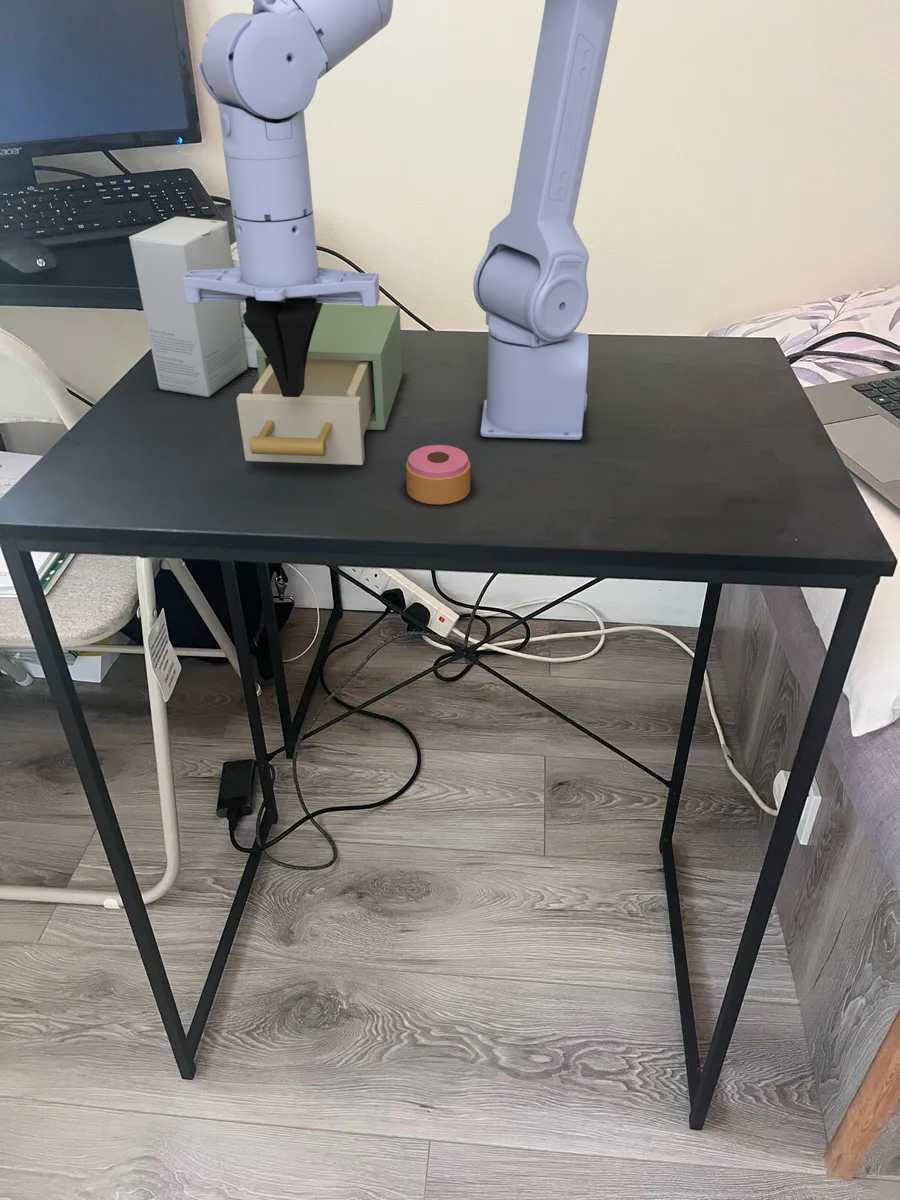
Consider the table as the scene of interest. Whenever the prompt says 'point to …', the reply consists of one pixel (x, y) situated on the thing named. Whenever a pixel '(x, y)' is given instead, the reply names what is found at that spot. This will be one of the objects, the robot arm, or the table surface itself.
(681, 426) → the table surface
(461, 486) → the donut
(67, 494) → the table surface
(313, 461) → the drawer
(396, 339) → the cabinet
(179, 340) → the cosmetic box
